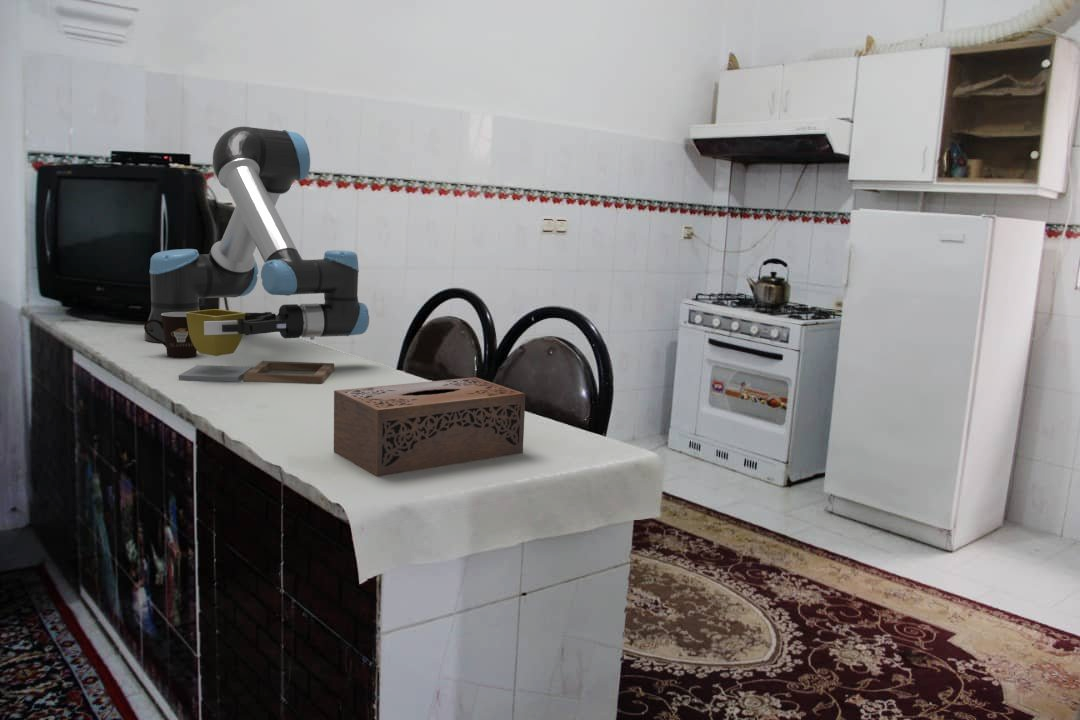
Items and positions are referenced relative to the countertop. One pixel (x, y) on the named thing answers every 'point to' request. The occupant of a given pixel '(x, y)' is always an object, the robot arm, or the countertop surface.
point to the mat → (215, 373)
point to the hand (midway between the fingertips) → (197, 324)
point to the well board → (260, 374)
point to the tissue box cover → (427, 424)
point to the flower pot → (213, 342)
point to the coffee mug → (175, 335)
